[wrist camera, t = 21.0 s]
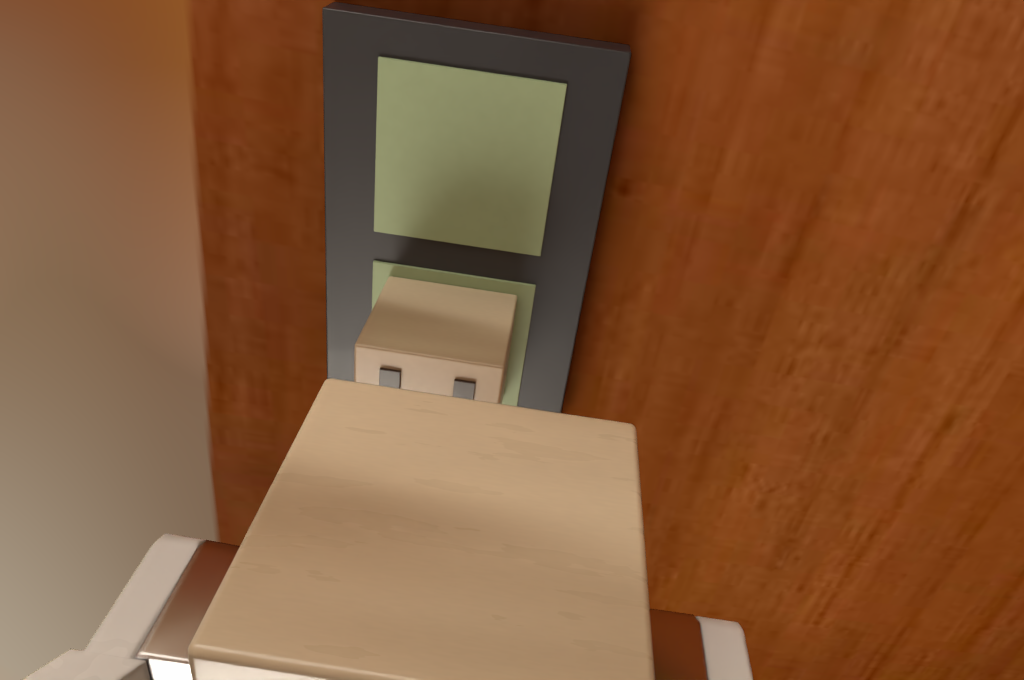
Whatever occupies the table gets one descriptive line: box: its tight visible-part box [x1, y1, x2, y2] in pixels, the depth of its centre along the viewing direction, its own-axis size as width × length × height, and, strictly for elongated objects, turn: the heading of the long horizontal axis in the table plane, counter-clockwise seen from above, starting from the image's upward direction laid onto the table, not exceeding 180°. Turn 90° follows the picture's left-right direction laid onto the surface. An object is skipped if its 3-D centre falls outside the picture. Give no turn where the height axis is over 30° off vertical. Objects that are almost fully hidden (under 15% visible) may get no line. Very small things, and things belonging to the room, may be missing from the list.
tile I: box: [188, 378, 655, 680], centre depth 9 cm, size 4×4×4 cm
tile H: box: [354, 276, 517, 404], centre depth 23 cm, size 4×4×4 cm
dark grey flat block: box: [323, 2, 631, 413], centre depth 23 cm, size 13×8×1 cm, turn 173°
